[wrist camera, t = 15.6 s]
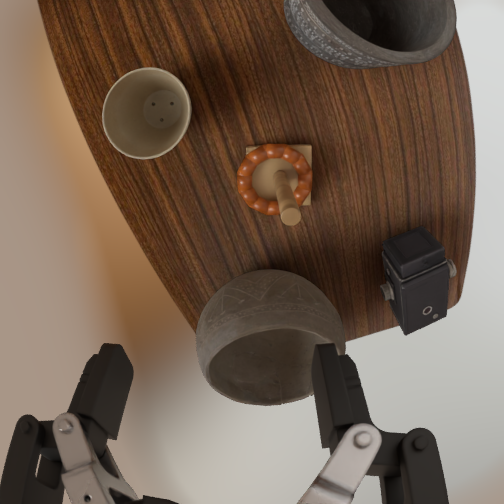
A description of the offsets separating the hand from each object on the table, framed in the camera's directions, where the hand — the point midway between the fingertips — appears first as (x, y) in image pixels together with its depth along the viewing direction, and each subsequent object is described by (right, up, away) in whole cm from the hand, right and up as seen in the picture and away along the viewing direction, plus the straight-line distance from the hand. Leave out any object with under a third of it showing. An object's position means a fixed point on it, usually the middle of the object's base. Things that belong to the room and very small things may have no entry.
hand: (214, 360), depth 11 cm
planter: (+12, +32, +14) cm, 38 cm away
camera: (+26, +3, +32) cm, 41 cm away
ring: (+4, +13, +24) cm, 28 cm away
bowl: (+4, -4, +37) cm, 37 cm away
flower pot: (-9, +22, +21) cm, 32 cm away
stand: (+5, +14, +25) cm, 30 cm away
